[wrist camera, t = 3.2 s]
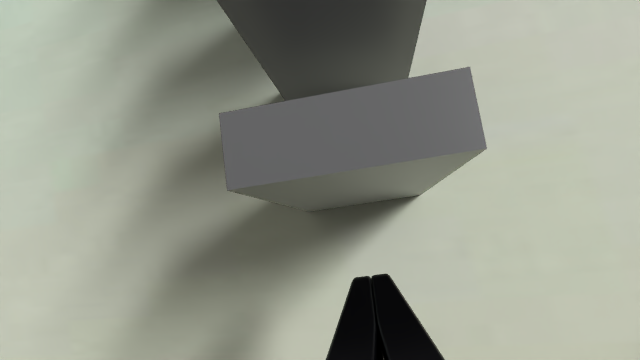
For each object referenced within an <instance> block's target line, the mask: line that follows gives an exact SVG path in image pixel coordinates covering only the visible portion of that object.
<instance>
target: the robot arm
mask: <svg viewBox="0 0 640 360" xmlns="http://www.w3.org/2000/svg"><path fill="white" fill-rule="evenodd" d="M383 357H384V358H383ZM326 360H445V359H444V358H443V356H442V355H441V353H440V352H439V350H438V349H437V347H436V345H435V344H434V342H433V341H432V339H431V338H430V336H429V335H428V333H427V332H426V330H425V329H424V327H423V326H422V324H421V323H420V321H419V320H418V318H417V317H416V315H415V314H414V312H413V310H412V309H411V307H410V306H409V304H408V303H407V301H406V300H405V298H404V297H403V295H402V294H401V292H400V291H399V289H398V288H397V286H396V285H395V283H394V282H393V280H392V278H391V277H390V276H389V275H388V274H380V275H373V276H372V278H370V277H369V276H364V277H356V278H354V279H353V281H352V283H351V286H350V289H349V292H348V295H347V298H346V301H345V304H344V307H343V310H342V313H341V316H340V319H339V322H338V325H337V328H336V331H335V334H334V337H333V340H332V343H331V346H330V349H329V352H328V355H327V358H326Z"/></svg>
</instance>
